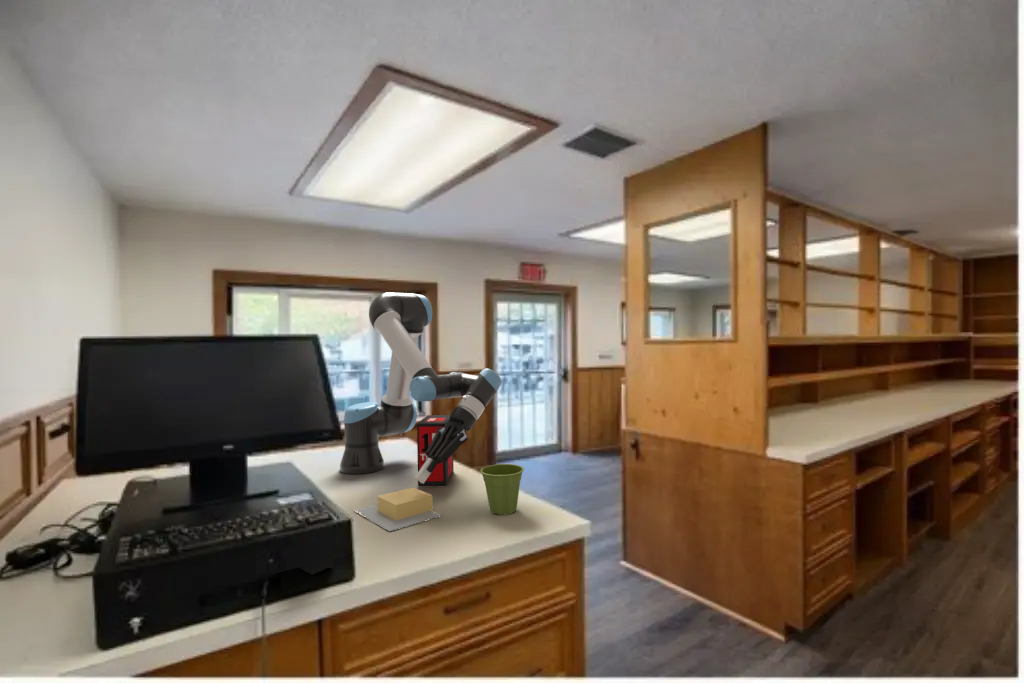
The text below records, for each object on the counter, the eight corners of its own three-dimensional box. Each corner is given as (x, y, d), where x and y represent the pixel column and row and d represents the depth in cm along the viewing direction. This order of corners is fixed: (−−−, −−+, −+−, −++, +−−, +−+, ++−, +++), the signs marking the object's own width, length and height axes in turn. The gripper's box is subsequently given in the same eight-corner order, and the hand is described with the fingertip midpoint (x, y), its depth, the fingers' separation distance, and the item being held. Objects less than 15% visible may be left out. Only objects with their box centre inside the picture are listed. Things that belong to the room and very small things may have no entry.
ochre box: (413, 501, 141) (377, 510, 134) (413, 487, 141) (377, 496, 134) (432, 510, 134) (396, 520, 126) (432, 495, 134) (395, 505, 126)
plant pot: (507, 500, 142) (507, 461, 142) (533, 512, 132) (532, 470, 132) (472, 509, 135) (471, 468, 135) (496, 522, 125) (496, 477, 125)
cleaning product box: (428, 472, 173) (427, 415, 173) (453, 472, 172) (452, 415, 172) (417, 486, 156) (417, 423, 156) (445, 486, 156) (445, 423, 156)
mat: (353, 511, 134) (353, 510, 134) (402, 498, 145) (402, 497, 145) (389, 532, 120) (389, 531, 120) (441, 516, 130) (441, 515, 130)
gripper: (446, 403, 151) (398, 468, 140) (472, 407, 141) (423, 477, 130) (460, 418, 154) (415, 483, 143) (487, 423, 145) (440, 493, 134)
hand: (419, 480), depth 137 cm, fingers closed
